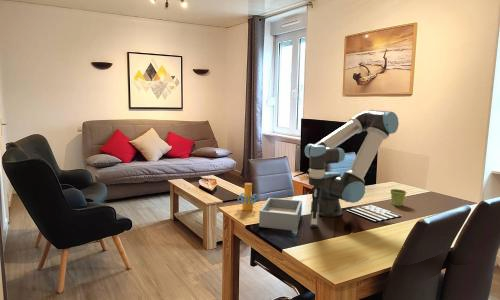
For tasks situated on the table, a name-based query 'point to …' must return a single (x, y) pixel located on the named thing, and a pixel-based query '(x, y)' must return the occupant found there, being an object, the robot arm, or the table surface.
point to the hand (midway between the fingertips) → (314, 222)
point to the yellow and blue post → (248, 198)
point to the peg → (317, 216)
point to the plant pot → (397, 196)
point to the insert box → (280, 214)
